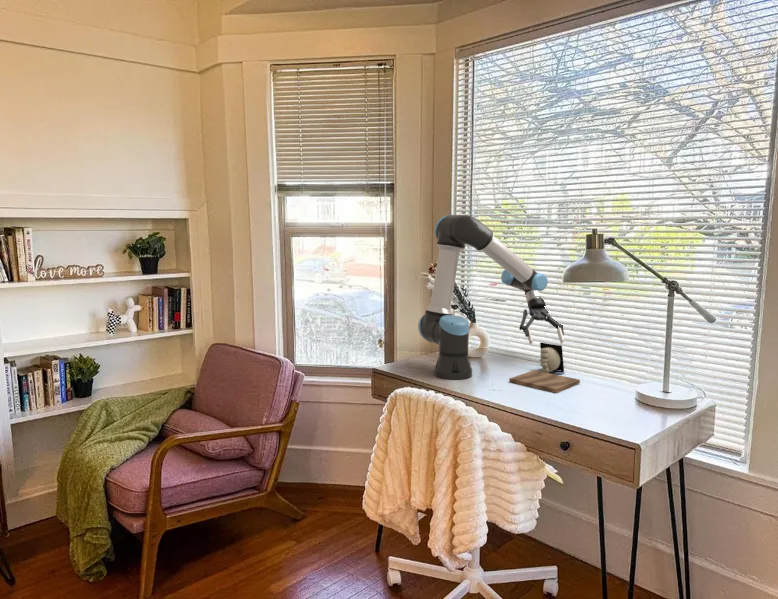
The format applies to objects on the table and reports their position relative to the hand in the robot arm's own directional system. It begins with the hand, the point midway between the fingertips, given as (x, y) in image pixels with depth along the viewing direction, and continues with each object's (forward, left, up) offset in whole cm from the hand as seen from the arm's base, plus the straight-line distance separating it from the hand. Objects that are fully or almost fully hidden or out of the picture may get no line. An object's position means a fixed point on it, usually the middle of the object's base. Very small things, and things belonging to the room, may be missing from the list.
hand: (546, 342), depth 246 cm
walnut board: (+12, -21, -11) cm, 27 cm away
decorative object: (+5, -5, -11) cm, 13 cm away
